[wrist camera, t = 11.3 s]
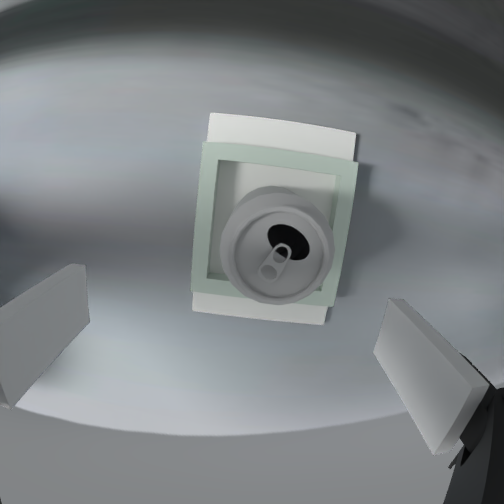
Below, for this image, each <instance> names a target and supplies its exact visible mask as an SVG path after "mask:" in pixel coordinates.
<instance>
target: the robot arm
mask: <svg viewBox="0 0 504 504" xmlns="http://www.w3.org/2000/svg"><path fill="white" fill-rule="evenodd" d="M89 322H90V318H89V308H88V295H87V280H86V265H81V264H75V263H71V264H69V265H67V266H66V267H64V268H62V269H61V270H59V271H57V272H56V273H54V274H52V275H51V276H49V277H47V278H46V279H44V280H43V281H41V282H39V283H38V284H36V285H35V286H33V287H31V288H30V289H28V290H27V291H25V292H23V293H22V294H20V295H19V296H17V297H16V298H14V299H13V300H11V301H9V302H8V303H6V304H5V305H3V306H2V307H0V405H2V406H4V407H6V408H8V409H10V410H11V409H12V408H13V407H14V406H15V405H16V403H17V402H18V401H19V400H20V399H21V397H22V396H23V395H24V394H25V393H26V392H27V390H28V389H29V388H30V387H31V386H32V385H33V383H34V382H35V381H36V380H37V379H38V378H39V377H40V376H41V374H42V373H43V372H44V371H45V370H46V369H47V368H48V367H49V365H50V364H51V363H52V362H53V361H54V360H55V359H56V358H57V357H58V356H59V354H60V353H61V352H62V351H63V350H64V349H65V348H66V347H67V346H68V345H69V344H70V343H71V341H72V340H73V339H74V338H75V337H76V336H77V335H78V334H79V333H80V332H81V331H82V330H83V329H84V328H85V327H86V326H87V325H88V324H89ZM373 354H374V355H375V357H376V358H377V360H378V362H379V363H380V365H381V367H382V368H383V370H384V372H385V373H386V375H387V376H388V378H389V380H390V381H391V383H392V385H393V386H394V388H395V390H396V391H397V393H398V395H399V397H400V398H401V400H402V402H403V403H404V405H405V407H406V408H407V410H408V412H409V413H410V415H411V417H412V419H413V421H414V422H415V424H416V426H417V428H418V429H419V431H420V433H421V435H422V436H423V438H424V440H425V442H426V444H427V445H428V447H429V449H430V451H431V452H432V454H433V455H437V454H442V453H446V452H449V451H451V450H452V449H453V447H454V446H455V444H456V443H457V441H458V439H459V438H460V439H461V441H462V442H463V444H464V446H463V447H462V449H461V450H460V451H459V453H458V454H457V456H456V457H455V459H454V460H453V461H452V462H451V464H450V465H449V467H448V468H450V469H451V468H452V466H453V465H454V464H456V465H455V469H454V472H453V476H452V479H451V482H450V485H449V488H448V491H447V494H446V497H445V500H444V503H443V504H504V388H499V389H496V388H495V387H494V386H493V385H492V384H491V383H490V382H489V381H488V379H487V378H486V377H485V376H484V375H483V374H482V373H481V372H480V371H478V369H477V368H476V367H475V366H474V365H472V363H471V362H470V361H469V360H468V359H467V358H466V357H465V356H463V355H462V354H460V353H459V352H458V351H457V350H456V349H455V348H454V347H453V346H452V345H451V344H450V343H449V342H448V341H447V340H446V339H445V338H444V337H442V336H441V335H440V334H439V333H438V332H437V331H436V330H435V329H434V328H433V327H432V326H431V325H430V324H429V323H428V322H427V321H426V320H425V319H424V318H423V317H422V316H421V315H420V314H419V313H418V312H416V311H415V310H414V309H413V308H412V307H411V306H410V305H409V304H408V303H407V302H406V301H405V300H404V299H391V298H389V300H388V303H387V307H386V311H385V314H384V318H383V322H382V325H381V329H380V332H379V335H378V339H377V342H376V345H375V348H374V351H373ZM0 504H2V503H1V499H0Z"/></svg>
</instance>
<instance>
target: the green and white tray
mask: <svg viewBox="0 0 504 504" xmlns="http://www.w3.org/2000/svg"><path fill="white" fill-rule="evenodd" d="M355 139H356V133H353V132H349V131H344V130H339V129H333V128H328V127H322V126H317V125H311V124H305V123H298V122H292V121H285V120H278V119H270V118H262V117H253V116H244V115H233V114H222V113H210V119H209V127H208V135H207V142H205V141H203V147H202V156H201V165H200V174H199V184H198V194H197V204H196V216H195V227H194V240H193V253H192V268H191V284H190V291H192V292H193V305H192V311H196V312H203V313H211V314H219V315H227V316H235V317H243V318H252V319H261V320H271V321H281V322H292V323H303V324H315V325H324V322H325V317H326V313H327V308H328V307H333V306H334V302H335V297H336V293H337V288H338V283H339V278H340V274H341V269H342V263H343V258H344V253H345V248H346V242H347V236H348V231H349V225H350V219H351V213H352V206H353V200H354V193H355V186H356V179H357V172H358V164H359V163H358V162H353V156H354V148H355ZM265 186H277V187H284V188H286V189H288V190H290V191H292V192H294V193H296V194H297V195H299V196H301V197H302V198H304V199H306V200H307V201H309V202H311V203H312V204H313V205H314V206H315V207H316V208H317V209H318V210H319V211H320V212H321V213H322V214H323V215H324V216H325V217H326V219H327V221H328V223H329V226H330V228H331V230H332V232H333V237H334V246H335V253H334V258H333V263H332V268H331V269H330V271H329V273H328V275H327V276H326V278H325V280H324V282H323V283H322V284H321V285H320V286H319V287H318V288H317V289H316V290H315V291H314V292H313V293H311V294H310V295H309V296H307V297H305V298H303V299H301V300H299V301H297V302H295V303H290V304H284V305H272V304H264V303H259V302H257V301H255V300H253V299H250V298H248V297H246V296H244V295H243V294H242V293H241V292H240V291H239V290H238V289H236V288H235V287H234V286H233V285H232V284H231V282H230V280H229V279H228V277H227V275H226V274H225V272H224V270H223V267H222V262H221V257H220V243H221V235H222V232H223V230H224V228H225V226H226V224H227V222H228V220H229V218H230V216H231V214H232V212H233V211H234V209H235V207H236V205H237V204H238V202H239V201H240V200H241V199H242V198H243V197H244V196H245V195H246V194H247V193H249V192H251V191H253V190H255V189H257V188H259V187H265Z"/></svg>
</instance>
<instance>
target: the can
mask: <svg viewBox="0 0 504 504" xmlns="http://www.w3.org/2000/svg"><path fill="white" fill-rule="evenodd" d="M334 253H335V246H334V237H333V232H332V230H331V228H330V226H329V223H328V221H327V219H326V217H325V216H324V215H323V214H322V213H321V212H320V211H319V210H318V209H317V208H316V207H315V206H314V205H313V204H312V203H311V202H309V201H307V200H306V199H304V198H302V197H301V196H299V195H297V194H296V193H294V192H292V191H290V190H288V189H286V188H284V187H277V186H265V187H259V188H257V189H255V190H253V191H251V192H249V193H247V194H246V195H245V196H244V197H243V198H242V199H241V200H240V201H239V202H238V204H237V205H236V207H235V209H234V211H233V212H232V214H231V216H230V218H229V220H228V222H227V224H226V226H225V228H224V230H223V232H222V235H221V243H220V257H221V262H222V267H223V270H224V272H225V274H226V275H227V277H228V279H229V280H230V282H231V284H232V285H233V286H234V287H235V288H236V289H238V290H239V291H240V292H241V293H242V294H243V295H244V296H246V297H248V298H250V299H253V300H255V301H257V302H259V303H264V304H272V305H284V304H290V303H295V302H297V301H299V300H301V299H303V298H305V297H307V296H309V295H310V294H311V293H313V292H314V291H315V290H316V289H317V288H318V287H319V286H320V285H321V284H322V283H323V282H324V280H325V278H326V276H327V275H328V273H329V271H330V269H331V268H332V263H333V258H334Z"/></svg>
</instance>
